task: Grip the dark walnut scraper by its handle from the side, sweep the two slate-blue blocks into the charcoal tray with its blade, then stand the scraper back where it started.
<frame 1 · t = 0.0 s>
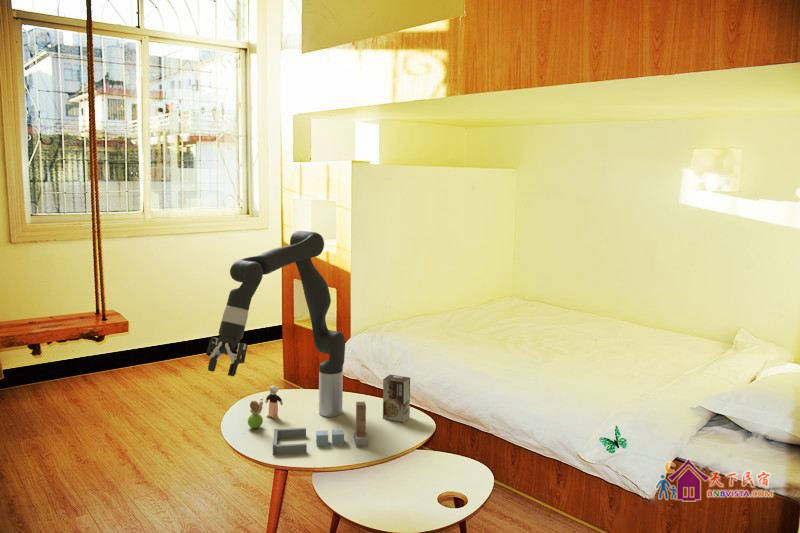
hand: (220, 373, 191), 31 cm above the table, tool tilted 20°, fingers open, 8 cm apart
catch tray: (291, 444, 214), on the table
snail figurine: (256, 428, 227), on the table
grandmother figurine: (273, 417, 238), on the table
coffee box: (396, 418, 240), on the table
scraper: (360, 441, 218), on the table
block b: (322, 443, 216), on the table
block a: (337, 442, 217), on the table
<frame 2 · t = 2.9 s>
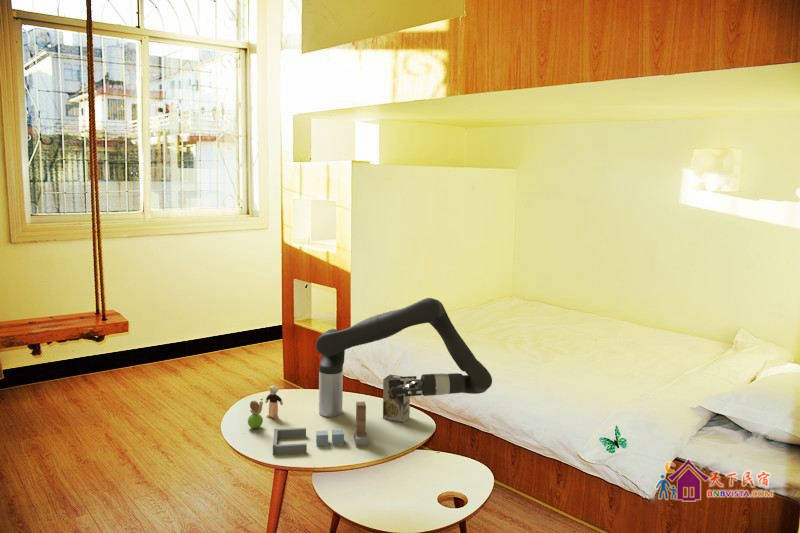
hand: (389, 387, 216), 20 cm above the table, tool horizontal, fingers open, 8 cm apart
nothing on the table moved.
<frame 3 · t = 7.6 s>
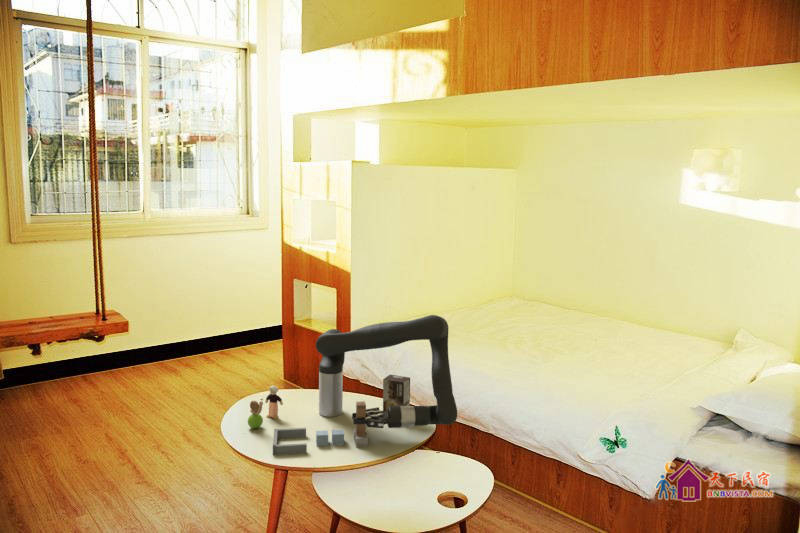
hand: (353, 418, 216), 9 cm above the table, tool horizontal, fingers closed on scraper, 4 cm apart
scraper: (360, 441, 218), on the table, touching gripper
everything else where it was.
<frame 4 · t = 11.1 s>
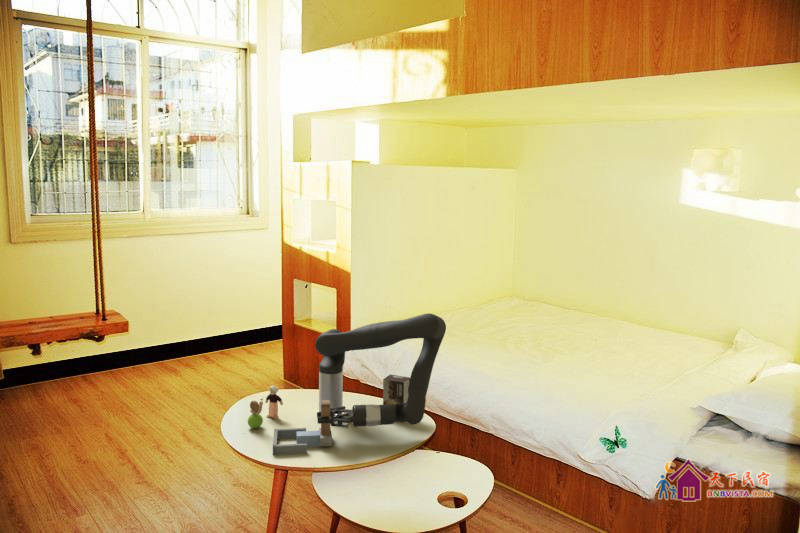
hand: (317, 417, 214), 9 cm above the table, tool horizontal, fingers closed on scraper, 4 cm apart
scraper: (325, 440, 216), point 1 cm above the table, touching block a, gripper
block b: (302, 444, 214), on the table, touching block a
block a: (314, 443, 215), on the table, touching block b, scraper
everything else where it was.
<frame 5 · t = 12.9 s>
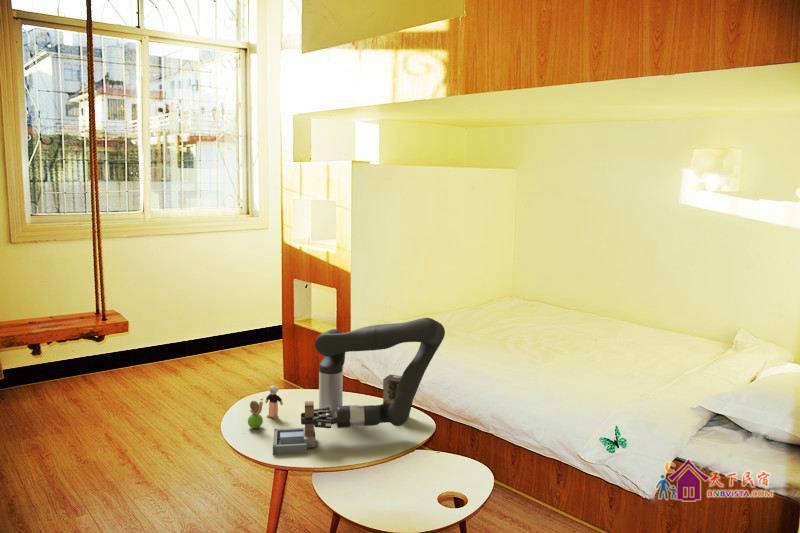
hand: (301, 418, 213), 9 cm above the table, tool horizontal, fingers closed on scraper, 4 cm apart
scraper: (309, 441, 215), point 1 cm above the table, touching gripper
block b: (286, 445, 213), on the table
block a: (297, 444, 214), on the table
everything else where it was.
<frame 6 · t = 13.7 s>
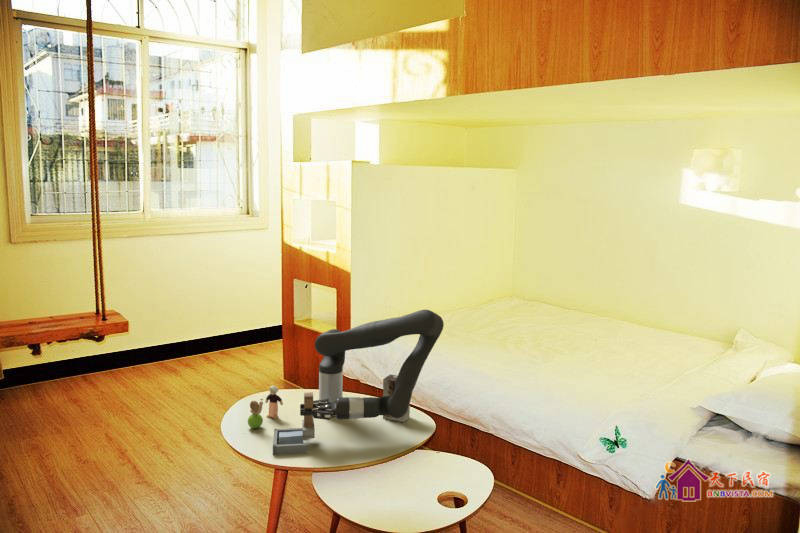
hand: (300, 409, 213), 13 cm above the table, tool horizontal, fingers closed on scraper, 4 cm apart
scraper: (308, 432, 214), point 4 cm above the table, touching gripper
block b: (285, 445, 213), on the table, touching block a
block a: (297, 444, 214), on the table, touching block b
everything else where it was.
when the fingers open (9 cm above the table, at t = 18.2 s): scraper stays where it is, on the table.
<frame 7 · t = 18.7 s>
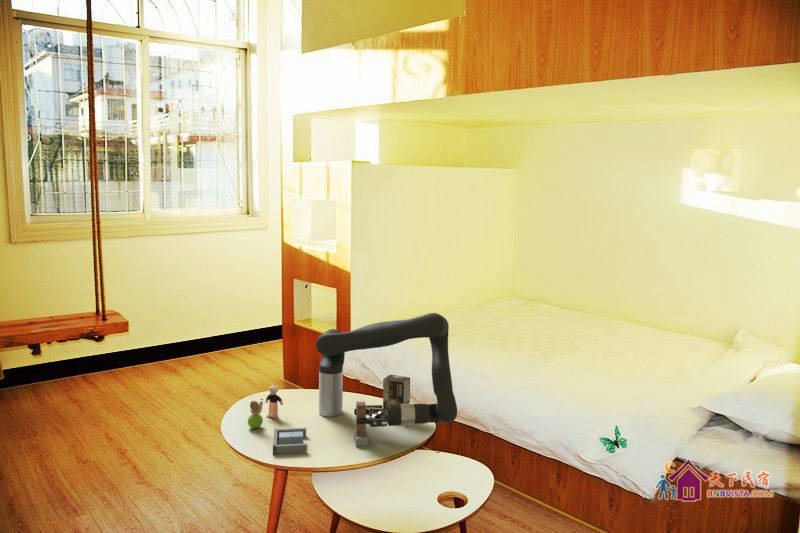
hand: (355, 416, 216), 9 cm above the table, tool horizontal, fingers open, 8 cm apart
scraper: (360, 441, 218), on the table
block b: (285, 445, 213), on the table
block a: (297, 445, 214), on the table
everything else where it was.
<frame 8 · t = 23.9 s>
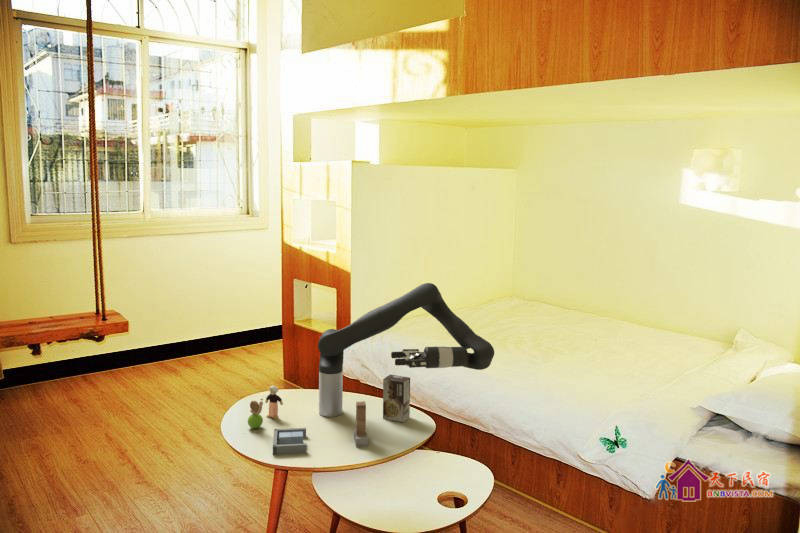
hand: (393, 358, 215), 30 cm above the table, tool horizontal, fingers open, 8 cm apart
nothing on the table moved.
at the end: block a inside the target area (2.8 cm from its centre), on the table; block b inside the target area (1.3 cm from its centre), on the table; scraper tilted 0° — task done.
